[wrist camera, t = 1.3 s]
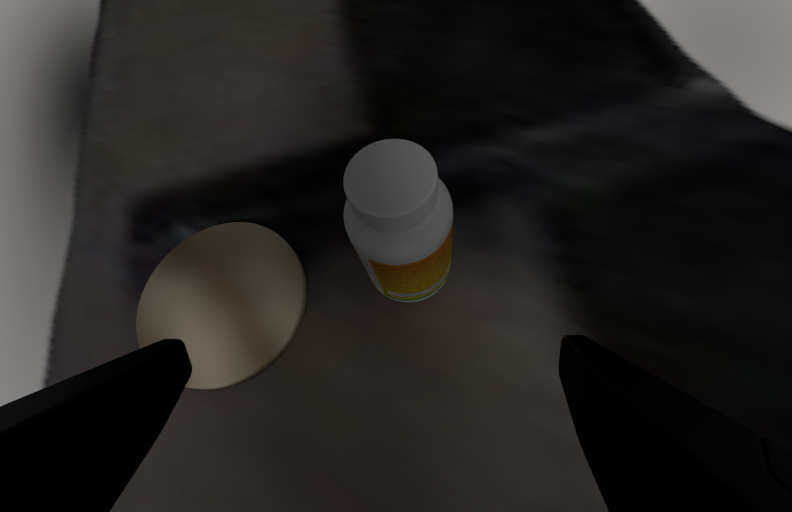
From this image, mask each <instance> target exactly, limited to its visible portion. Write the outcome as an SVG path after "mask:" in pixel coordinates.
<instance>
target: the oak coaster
mask: <svg viewBox="0 0 792 512" xmlns="http://www.w3.org/2000/svg"><path fill="white" fill-rule="evenodd" d="M306 302H307V280H306V275H305V271H304V268H303V265H302V263H301V261H300V259H299V257H298V256H297V254H296V252H295V251H294V250H293V249H292V248H291V247H290V246H289V244H288V243H287V242H286V241H285V240H284V239H283V238H282V237H281V236H279V235H278V234H277V233H275V232H274V231H272V230H270V229H268V228H266V227H264V226H261V225H257V224H253V223H246V222H231V223H224V224H219V225H215V226H212V227H209V228H207V229H204V230H202V231H200V232H198V233H196V234H194V235H192V236H190V237H189V238H187V239H185V240H184V241H183V242H181V243H180V244H179V245H177V246H176V247H175V248H174V249H173V250H172V251H171V252H169V253H168V254H167V255H166V257H165V258H164V259H163V260H162V261H161V262H160V263H159V265H158V266H157V267H156V269H155V270H154V272H153V273H152V275H151V276H150V278H149V280H148V282H147V284H146V286H145V288H144V290H143V293H142V296H141V299H140V302H139V306H138V311H137V319H136V332H137V339H138V344H139V347H140V349H141V348H143V347H145V346H148V345H150V344H153V343H155V342H158V341H160V340H163V339H180V340H182V341H183V342H184V344H185V346H186V349H187V352H188V355H189V358H190V361H191V364H192V374H191V377H190V379H189V381H188V382H187V384H186V386H185V387H188V388H194V389H206V390H214V389H223V388H227V387H232V386H235V385H238V384H240V383H243V382H246V381H247V380H249V379H251V378H253V377H255V376H257V375H258V374H260V373H261V372H263V371H264V370H265V369H267V368H268V367H269V366H270V365H271V364H273V363H274V362H275V361H276V360H277V359H278V358H279V357H280V356H281V355H282V353H283V352H284V351H285V350H286V348H287V347H288V346H289V344H290V343H291V342H292V340H293V338H294V336H295V335H296V333H297V331H298V329H299V327H300V324H301V322H302V319H303V316H304V312H305V309H306Z"/></svg>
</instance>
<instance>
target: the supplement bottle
mask: <svg viewBox="0 0 792 512" xmlns="http://www.w3.org/2000/svg"><path fill="white" fill-rule="evenodd" d="M343 185H344V191H345V194H346V196H347V200H346V202H345V206H344V224H345V229H346V231H347V234H348V237H349V239H350V241H351V243H352V245H353V247H354V248H355V250H356V252H357V254H358V256H359V258H360V260H361V262H362V264H363V266H364V268H365V270H366V272H367V274H368V276H369V278H370V279H371V281H372V283H373V284H374V286H375V287H376V288H377V289H378V290H379V291H380V292H381V293H382V294H383V295H385V296H386V297H388V298H390V299H393V300H396V301H400V302H417V301H421V300H424V299H426V298H428V297H430V296H432V295H433V294H435V293H436V292H437V291H438V290H439V289H440V288H441V287H442V286H443V285H444V283H445V282H446V280H447V278H448V275H449V272H450V268H451V253H452V229H453V205H452V200H451V197H450V194H449V192H448V189H447V188H446V186H445V185H444V183H443V182H442V181H441V180H440V179H439V178H438V172H437V167H436V164H435V161H434V159H433V158H432V156H431V155H430V154H429V152H428V151H427V150H425V149H424V148H423V147H422V146H420V145H418V144H416V143H414V142H412V141H408V140H403V139H385V140H381V141H377V142H374V143H372V144H369V145H368V146H366V147H364V148H363V149H361V150H360V151H359V152H358V153H356V154H355V155H354V157H353V158H352V159H351V160H350V162H349V164H348V165H347V167H346V170H345V173H344V180H343Z"/></svg>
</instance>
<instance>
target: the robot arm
mask: <svg viewBox="0 0 792 512" xmlns="http://www.w3.org/2000/svg"><path fill="white" fill-rule="evenodd" d="M191 374H192V364H191V361H190V358H189V355H188V352H187V349H186V346H185V344H184V342H183V341H182V340H180V339H163V340H160V341H158V342H155V343H153V344H150V345H148V346H145V347H143V348H141V349H138V350H136V351H133V352H131V353H129V354H126V355H124V356H121V357H119V358H116V359H114V360H112V361H109V362H107V363H104V364H102V365H100V366H97V367H95V368H92V369H90V370H88V371H85V372H83V373H80V374H78V375H75V376H73V377H71V378H68V379H66V380H63V381H61V382H59V383H56V384H54V385H51V386H49V387H46V388H44V389H42V390H39V391H37V392H34V393H32V394H30V395H27V396H25V397H22V398H20V399H18V400H15V401H13V402H10V403H8V404H6V405H3V406H1V407H0V512H110V510H111V508H112V507H113V505H114V504H115V502H116V501H117V499H118V498H119V496H120V495H121V493H122V492H123V490H124V489H125V487H126V485H127V484H128V482H129V481H130V479H131V478H132V476H133V475H134V473H135V472H136V470H137V469H138V467H139V465H140V464H141V462H142V461H143V459H144V458H145V456H146V455H147V453H148V452H149V450H150V449H151V447H152V446H153V444H154V442H155V441H156V439H157V438H158V436H159V434H160V433H161V431H162V429H163V427H164V426H165V424H166V422H167V420H168V418H169V416H170V414H171V412H172V411H173V409H174V407H175V405H176V403H177V401H178V399H179V397H180V396H181V394H182V392H183V390H184V388H185V386H186V384H187V382H188V381H189V379H190V377H191ZM559 376H560V380H561V383H562V387H563V390H564V393H565V396H566V400H567V403H568V406H569V410H570V413H571V416H572V420H573V423H574V426H575V430H576V433H577V436H578V439H579V442H580V445H581V447H582V450H583V452H584V455H585V457H586V459H587V462H588V464H589V466H590V469H591V471H592V473H593V476H594V478H595V480H596V483H597V485H598V487H599V490H600V492H601V494H602V497H603V499H604V501H605V504H606V506H607V508H608V511H609V512H792V453H790V452H789V451H787V450H785V449H783V448H782V447H780V446H778V445H776V444H775V443H773V442H771V441H769V440H768V439H765V438H762V439H761V437H760V436H759V435H758V434H757V433H755V432H753V431H751V430H750V429H748V428H746V427H744V426H743V425H741V424H739V423H737V422H736V421H734V420H732V419H730V418H728V417H727V416H725V415H723V414H721V413H720V412H718V411H716V410H714V409H713V408H711V407H709V406H707V405H705V404H704V403H702V402H700V401H698V400H697V399H695V398H693V397H691V396H690V395H688V394H686V393H684V392H682V391H681V390H679V389H677V388H675V387H674V386H672V385H670V384H668V383H667V382H665V381H663V380H661V379H659V378H658V377H656V376H654V375H652V374H651V373H649V372H647V371H645V370H644V369H642V368H640V367H638V366H636V365H635V364H633V363H631V362H629V361H628V360H626V359H624V358H622V357H621V356H619V355H617V354H615V353H613V352H612V351H610V350H608V349H606V348H605V347H603V346H601V345H599V344H598V343H596V342H594V341H592V340H590V339H589V338H587V337H585V336H582V335H566V336H564V337H563V338H562V341H561V349H560V358H559Z"/></svg>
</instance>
